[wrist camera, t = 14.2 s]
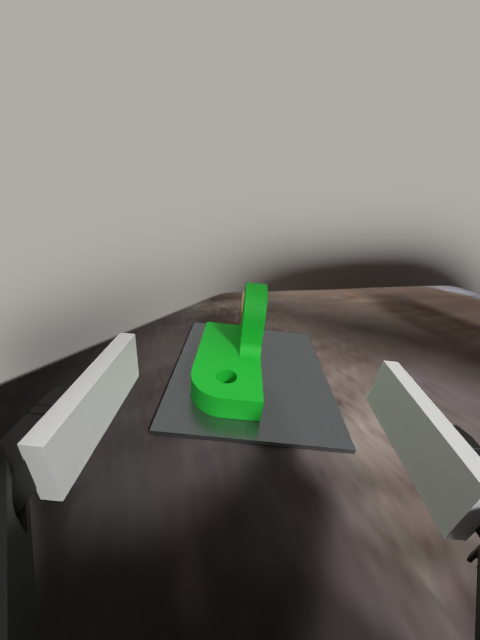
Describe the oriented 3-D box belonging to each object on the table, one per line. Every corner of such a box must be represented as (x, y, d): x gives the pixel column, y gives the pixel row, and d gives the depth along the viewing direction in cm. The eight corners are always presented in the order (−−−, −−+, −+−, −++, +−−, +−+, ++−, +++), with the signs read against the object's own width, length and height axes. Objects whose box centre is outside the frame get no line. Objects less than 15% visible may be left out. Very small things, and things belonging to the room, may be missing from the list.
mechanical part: (206, 336, 31) (209, 271, 27) (256, 341, 31) (265, 277, 27) (183, 414, 20) (183, 323, 16) (260, 421, 20) (276, 332, 17)
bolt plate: (307, 336, 34) (317, 294, 31) (354, 453, 19) (382, 391, 16) (194, 325, 34) (195, 281, 31) (149, 434, 19) (144, 367, 16)
